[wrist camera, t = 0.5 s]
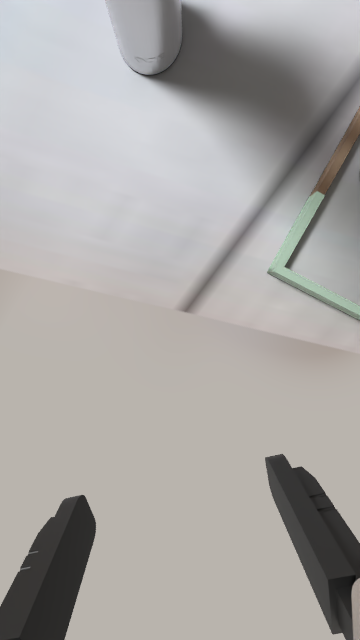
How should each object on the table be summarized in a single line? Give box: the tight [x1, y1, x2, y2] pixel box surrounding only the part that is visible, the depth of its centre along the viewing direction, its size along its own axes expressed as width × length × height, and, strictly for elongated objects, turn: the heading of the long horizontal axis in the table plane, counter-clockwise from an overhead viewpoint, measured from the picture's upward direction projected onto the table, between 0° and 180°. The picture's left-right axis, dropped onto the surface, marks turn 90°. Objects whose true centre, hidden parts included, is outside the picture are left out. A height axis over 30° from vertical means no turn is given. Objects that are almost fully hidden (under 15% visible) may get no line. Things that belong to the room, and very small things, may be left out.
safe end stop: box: [268, 191, 360, 320], centre depth 32 cm, size 13×18×3 cm
